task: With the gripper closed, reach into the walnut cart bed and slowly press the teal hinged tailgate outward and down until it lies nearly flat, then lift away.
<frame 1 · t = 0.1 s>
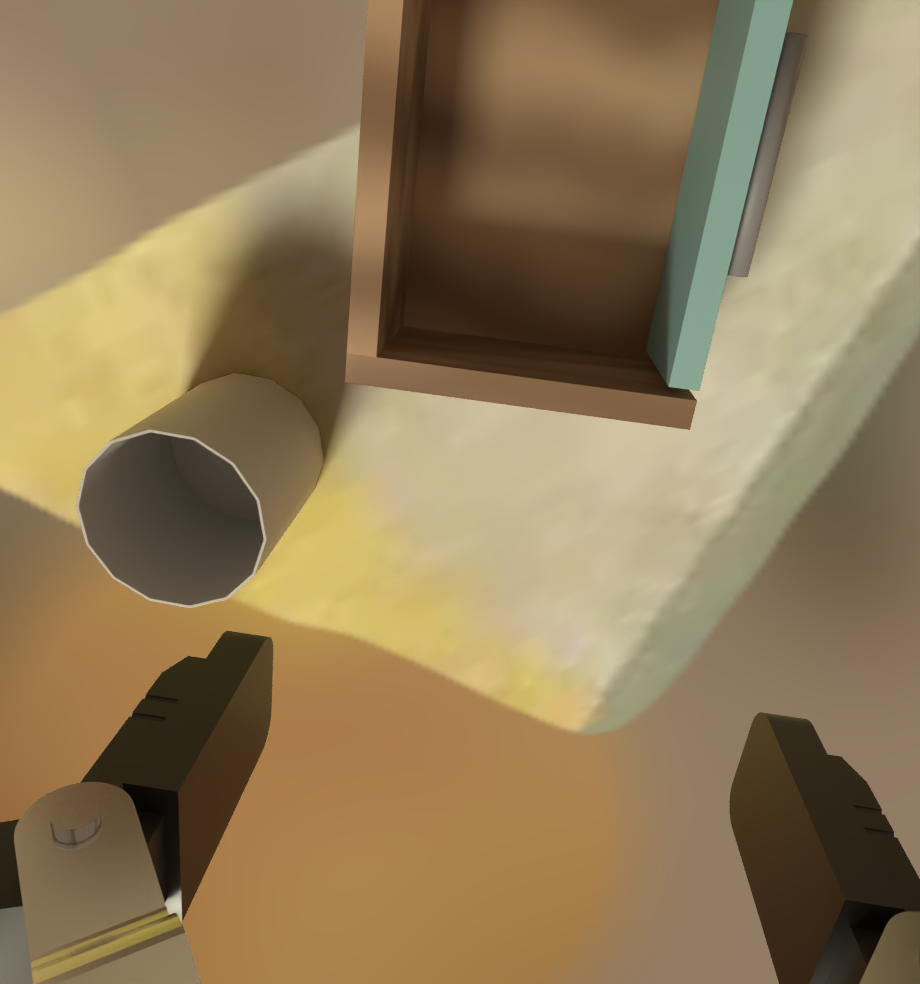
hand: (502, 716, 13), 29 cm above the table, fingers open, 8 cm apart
cup: (249, 446, 43), on the table
tailgate: (729, 160, 31), point 6 cm above the table, hinge at 0.0°
cart bed: (551, 143, 36), on the table
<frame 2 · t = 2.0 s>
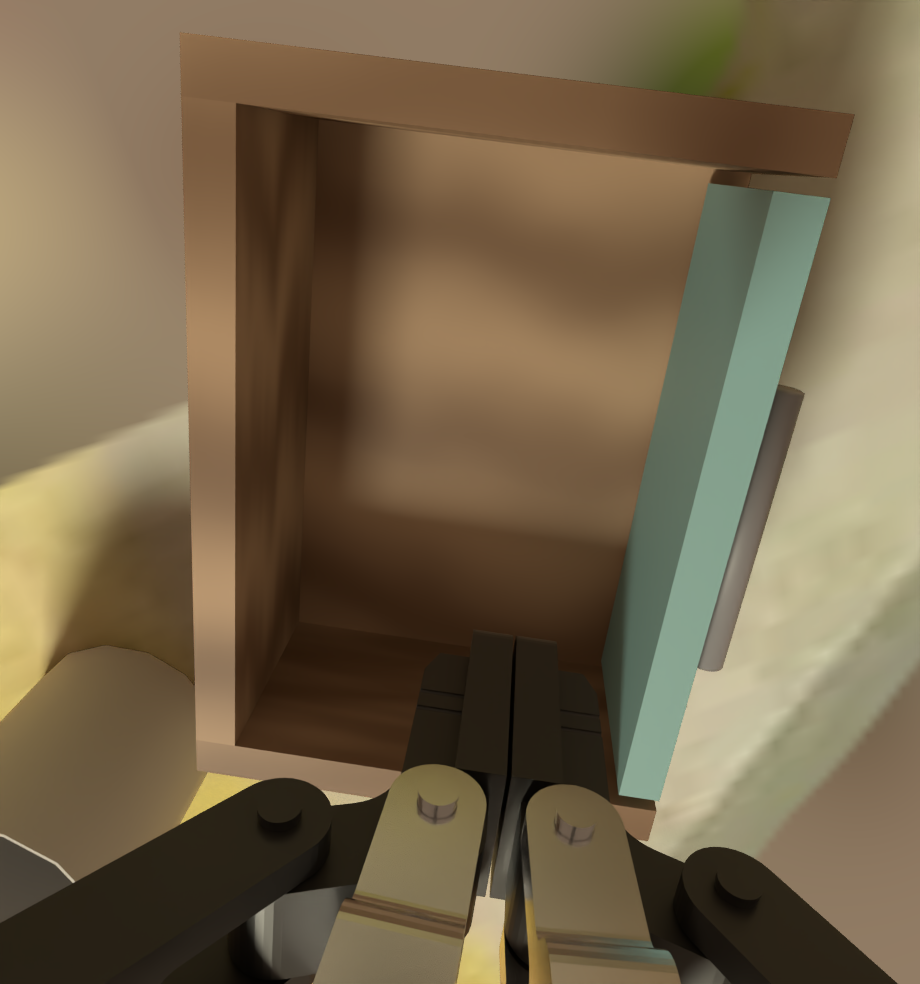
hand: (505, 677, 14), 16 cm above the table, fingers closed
cup: (130, 720, 36), on the table
tailgate: (700, 496, 23), point 6 cm above the table, hinge at 0.0°
cart bed: (479, 409, 28), on the table
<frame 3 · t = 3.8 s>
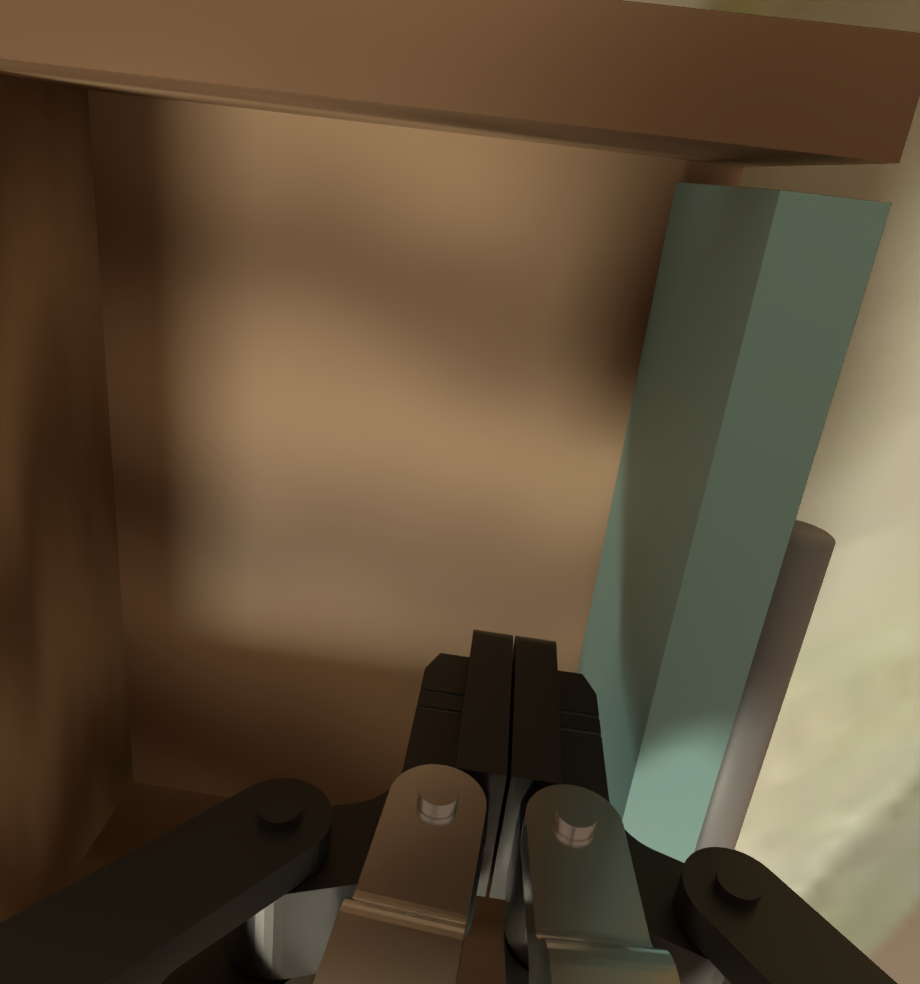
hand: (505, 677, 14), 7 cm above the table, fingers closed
tailgate: (668, 663, 15), point 6 cm above the table, hinge at 0.4°, touching gripper
cart bed: (369, 499, 20), on the table
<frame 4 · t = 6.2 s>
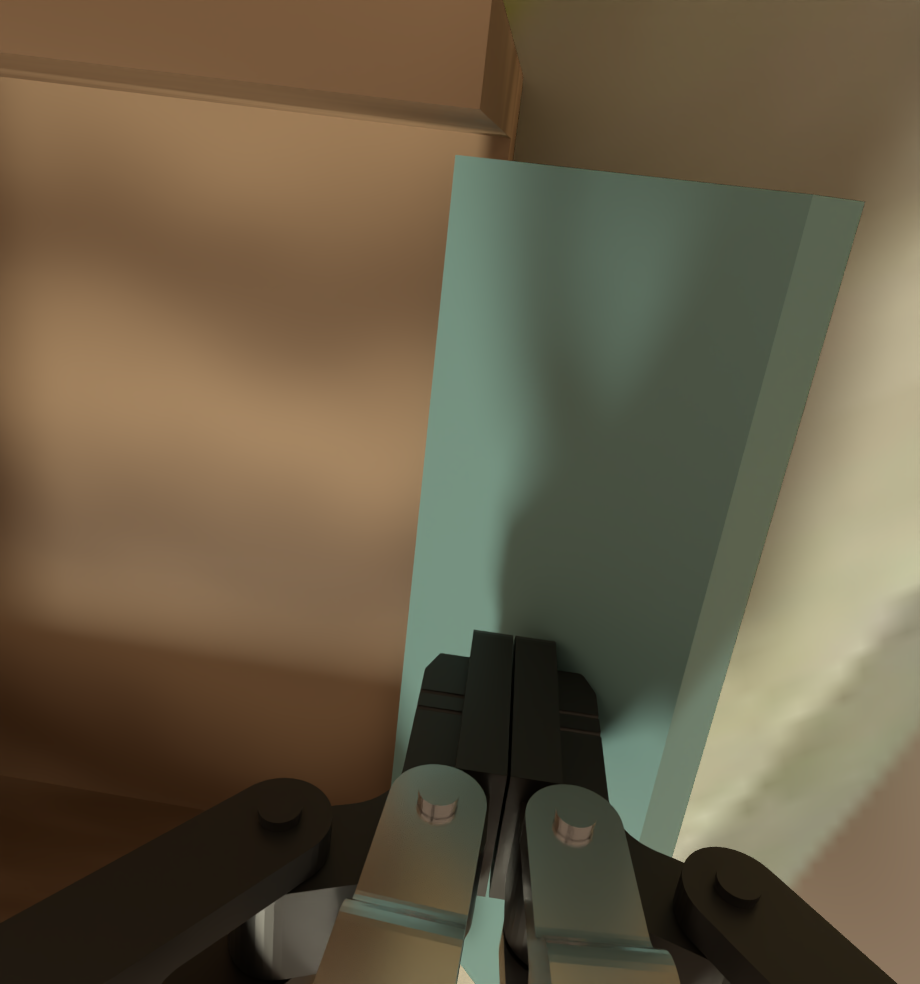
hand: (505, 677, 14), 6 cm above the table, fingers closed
tailgate: (557, 642, 15), point 5 cm above the table, hinge at 43.2°, touching gripper
cart bed: (195, 483, 20), on the table
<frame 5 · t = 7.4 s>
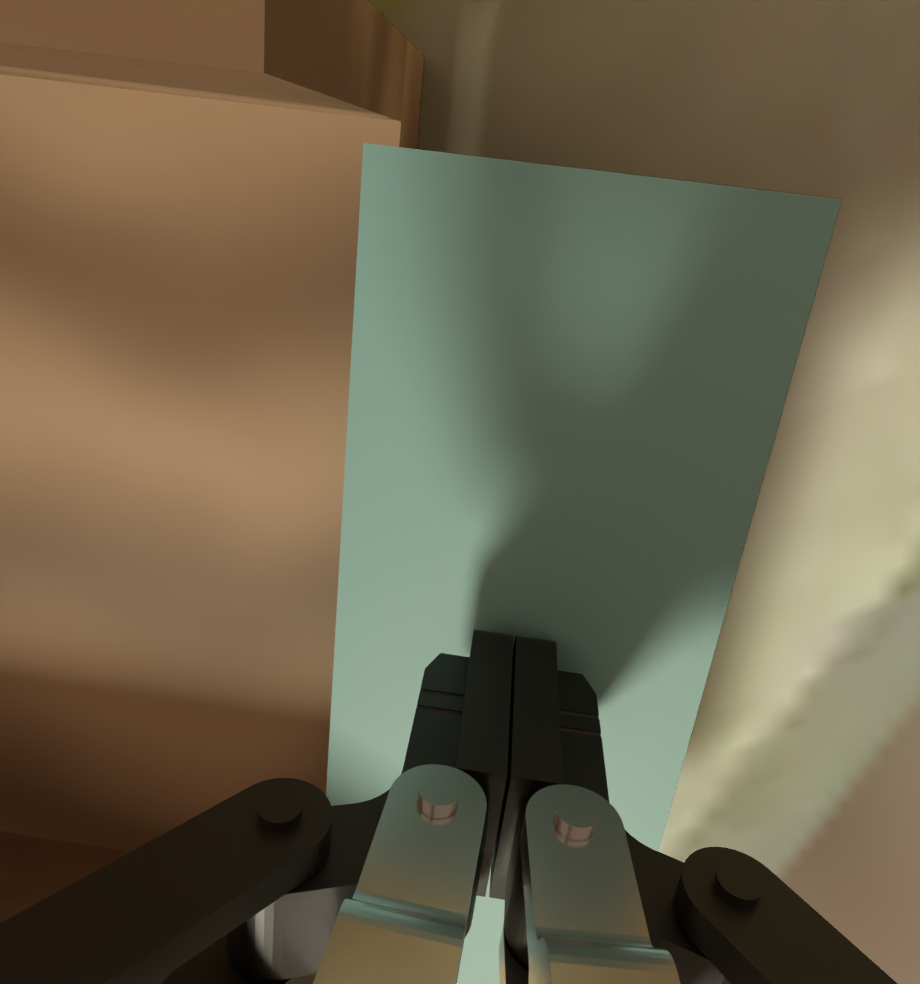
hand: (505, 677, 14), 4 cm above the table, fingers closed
tailgate: (519, 638, 15), point 3 cm above the table, hinge at 74.4°, touching gripper
cart bed: (93, 500, 19), on the table
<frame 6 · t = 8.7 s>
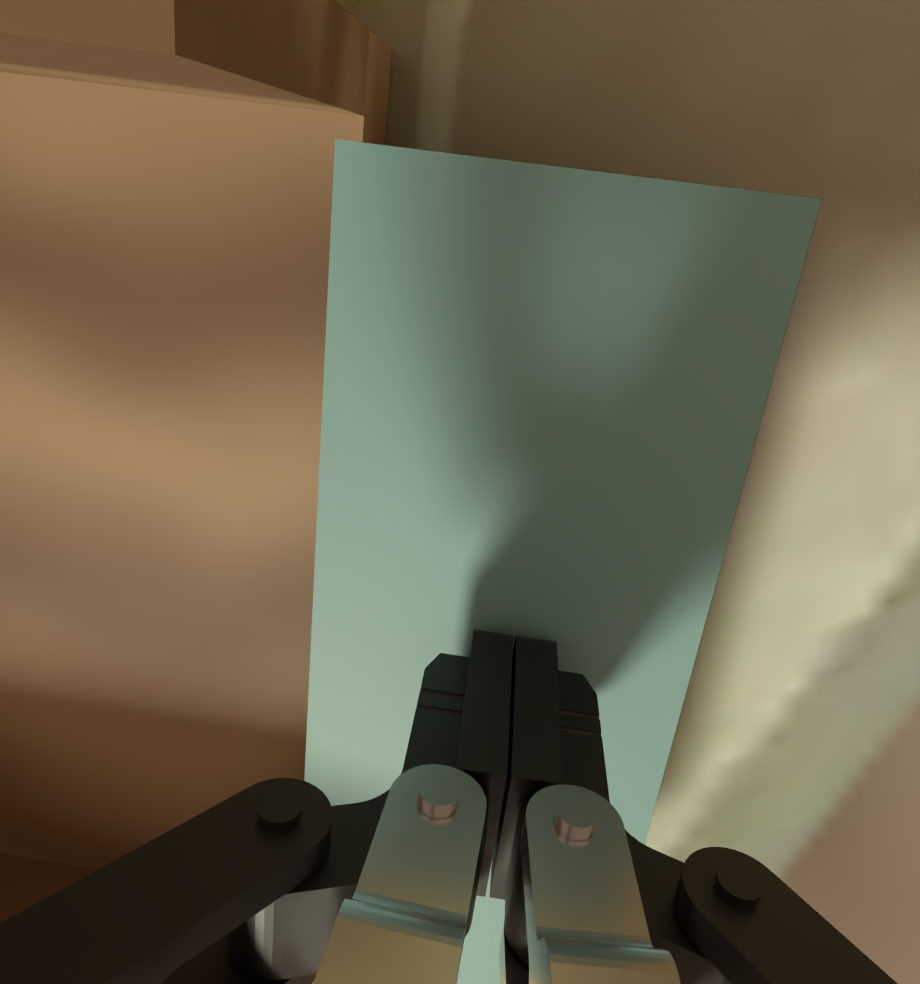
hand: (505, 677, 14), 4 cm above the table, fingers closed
tailgate: (499, 636, 15), point 3 cm above the table, hinge at 84.9°
cart bed: (56, 507, 18), on the table
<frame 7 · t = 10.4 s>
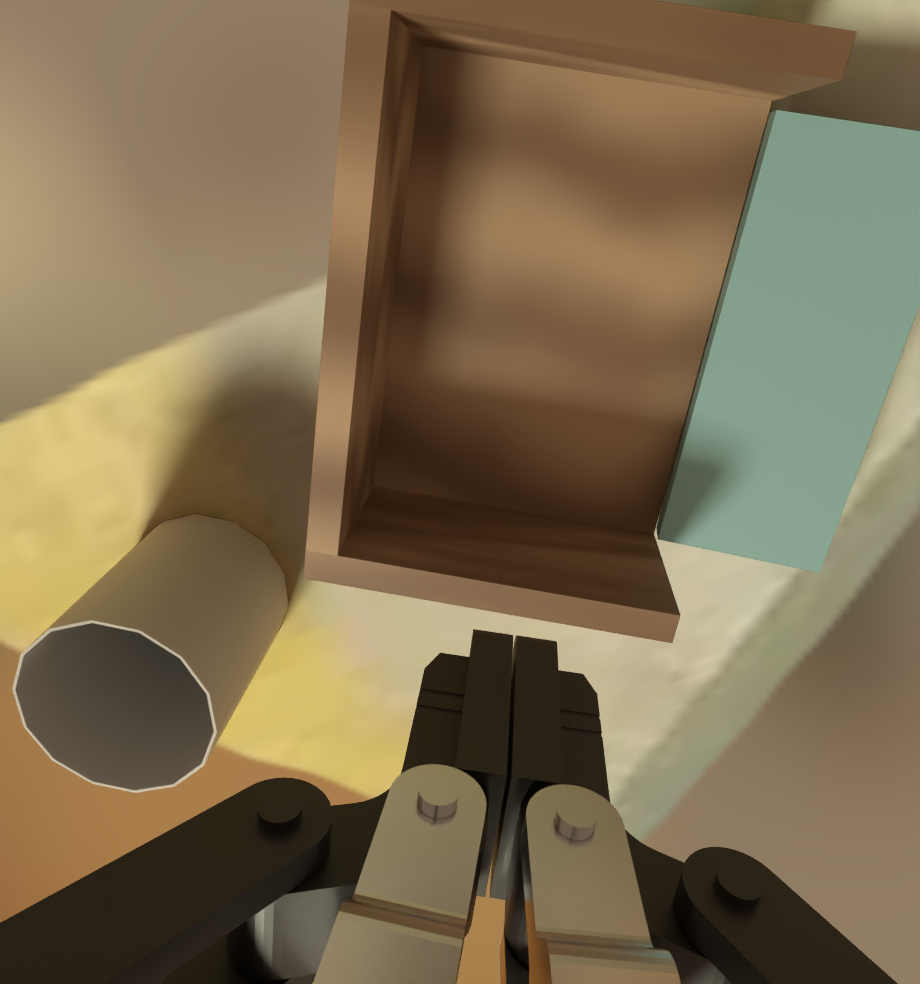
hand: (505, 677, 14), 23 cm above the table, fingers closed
cup: (211, 586, 41), on the table
tailgate: (794, 357, 31), point 3 cm above the table, hinge at 84.9°
cart bed: (535, 304, 34), on the table
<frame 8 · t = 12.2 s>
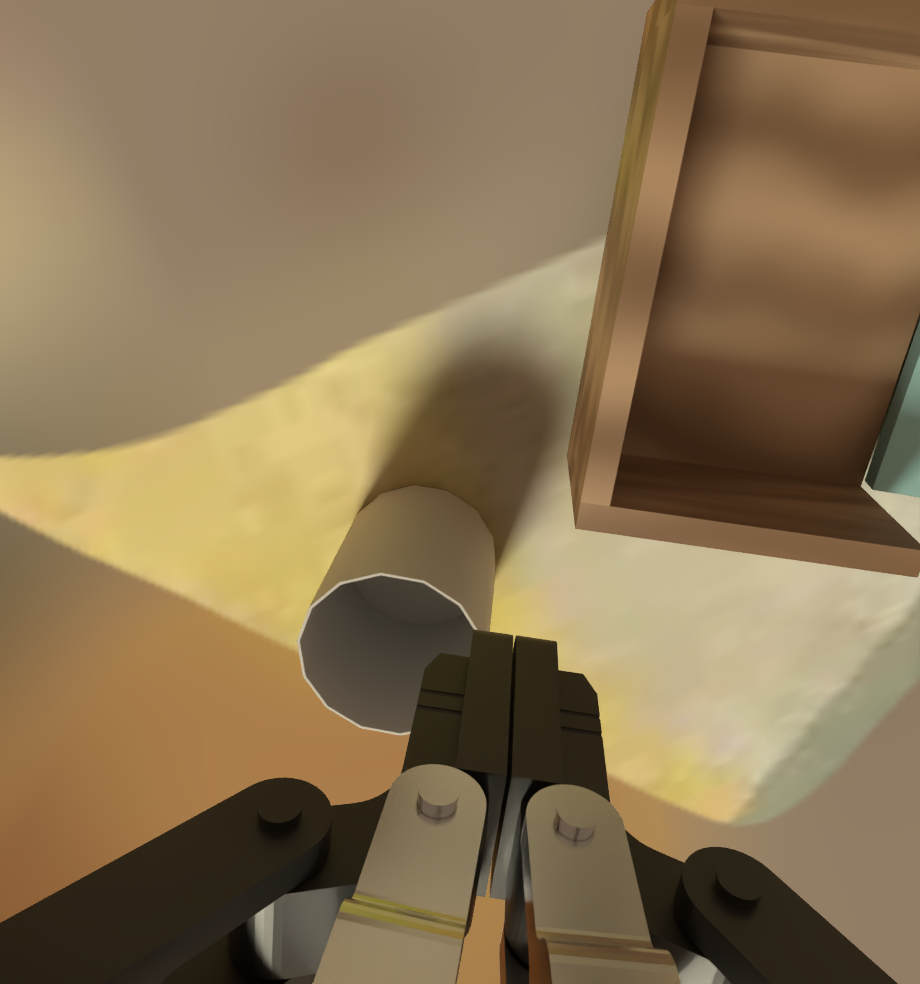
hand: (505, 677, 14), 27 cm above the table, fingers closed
cup: (421, 553, 44), on the table
cart bed: (752, 276, 37), on the table
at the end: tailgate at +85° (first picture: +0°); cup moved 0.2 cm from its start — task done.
